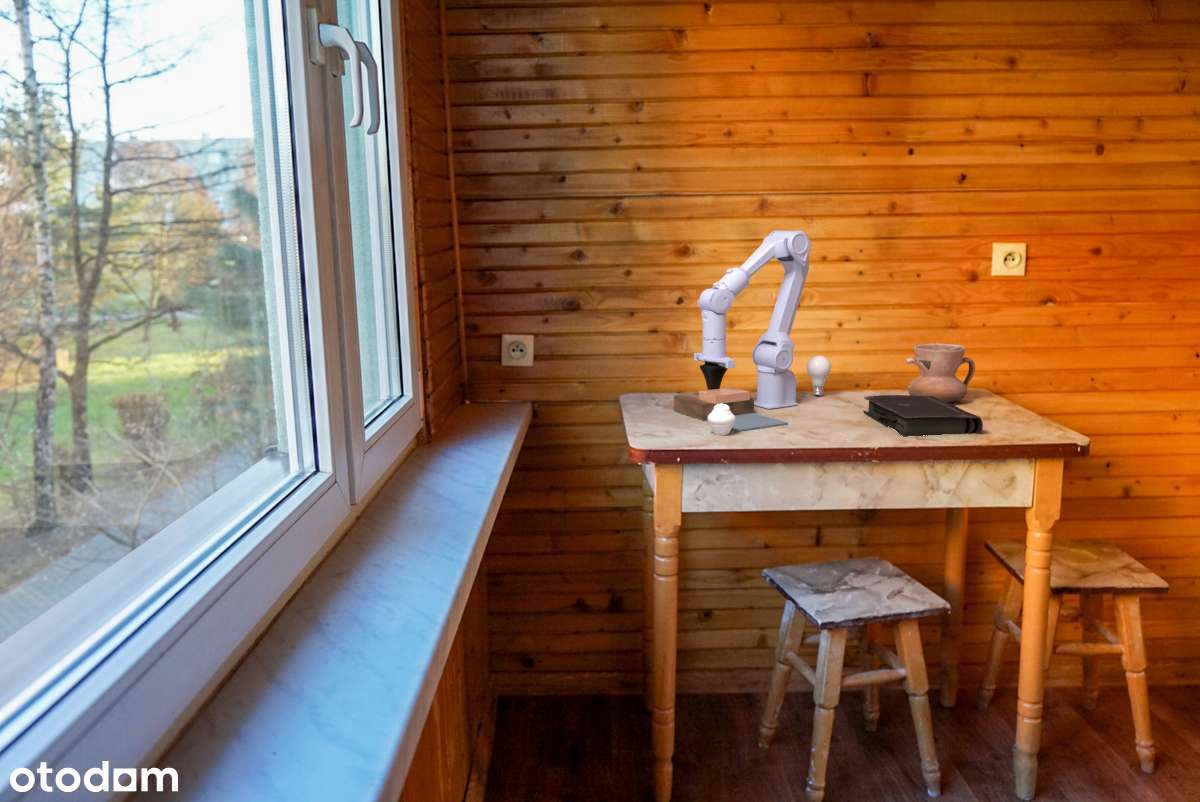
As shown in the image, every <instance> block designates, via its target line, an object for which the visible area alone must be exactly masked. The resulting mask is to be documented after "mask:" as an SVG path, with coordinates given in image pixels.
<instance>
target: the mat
mask: <svg viewBox="0 0 1200 802" xmlns="http://www.w3.org/2000/svg"><path fill="white" fill-rule="evenodd" d="M734 416H735V421H734V425H733V427H732V428H731V430H732V429H733V431H735V430H736V431H735V432H744V431H753V430H760V428H761V429H765V428H766V427H767V428H773V427H772V426H774V427H780V426H779V425H781V426H786V424H788V425H789V422H786V421H783V420H780V419H775V418H773V417H769V416H766V415H762V414H758V413H756V412H754V413H749V414H741V415H734ZM705 421H706V422H708V423H709V421H708V419H706V420H705Z"/></svg>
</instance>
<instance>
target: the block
mask: <svg viewBox="0 0 1200 802" xmlns="http://www.w3.org/2000/svg"><path fill="white" fill-rule="evenodd" d="M698 392H699V399H700V400H703V401H706V402H710V403H713V404H721V403H729V402H737V401H745V400H750V397H751V392H750V391H748V390H745V389H740V388H738V387H733V386H732V387H723V388H720V389H713V390H708V389H707V390H699V391H698Z"/></svg>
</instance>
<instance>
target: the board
mask: <svg viewBox="0 0 1200 802" xmlns="http://www.w3.org/2000/svg"><path fill="white" fill-rule="evenodd" d="M754 401H755V397H754V396H753V397H752V396H750V400H745V401H737V402H729V403H722V404H726V405H728V406H729V408H730V411H731V413H732V414H733V415H741V414H749V413H755V405H754ZM715 405H717V404H713V403H710V402H706V401H703V400H700V399H699V391H698V392H690V393H689V392H688V393H683V394H674V395H673V412H675V413H678V414H680V415H685V416H687V417H691V418H694V419H697V420H700V421H702V422H704V421H706V419H708V415H709V414H710V413H712V411H713V410H714V406H715Z"/></svg>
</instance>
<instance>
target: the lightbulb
mask: <svg viewBox="0 0 1200 802" xmlns="http://www.w3.org/2000/svg"><path fill="white" fill-rule="evenodd" d="M831 370H832V364H831V362H830V360H829V358H828V357H826V356H825V355H822V354H821V355H820V354H819V355H814V356H812V357H810V358H809V360H807V364H806V372H807V374H808V375H809V377H810V379H811V383H812V389H813V390H812V394H813V396H815V397H821V396H823V394H824V385H825V384H826V380H827V377H829V375H830V373H831Z"/></svg>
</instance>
